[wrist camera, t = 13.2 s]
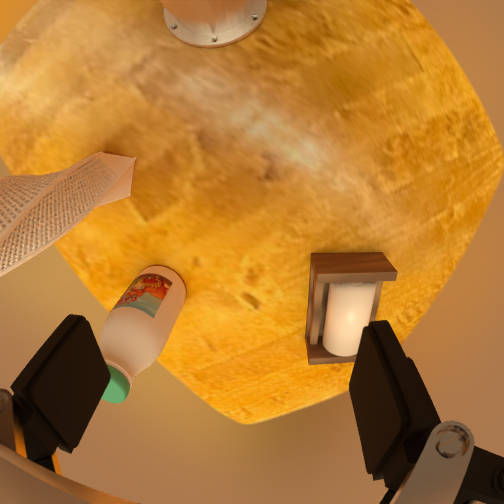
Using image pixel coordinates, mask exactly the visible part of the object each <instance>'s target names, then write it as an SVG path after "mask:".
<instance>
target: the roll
mask: <svg viewBox="0 0 504 504" xmlns="http://www.w3.org/2000/svg"><path fill="white" fill-rule="evenodd" d="M375 290H376V281H374V282H347V283H329V293H328V302H327V310H326V318H325V326H324V334H323V341H322V342H323V346H324V347H325V349H326V350H327V351H329V352H330V353H332V354H334V355H338V356H352V355H355V354H357V352H358V348H359V343H360V339H361V335H362V330H363V327H364V326H368V324H369V319H370V315H371V310H372V305H373V300H374V295H375Z"/></svg>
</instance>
